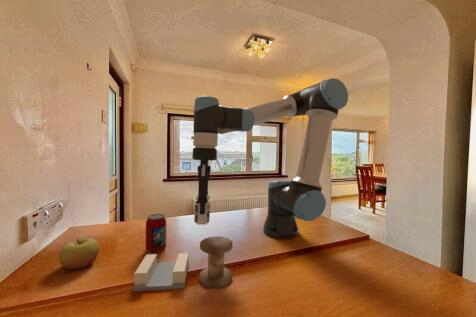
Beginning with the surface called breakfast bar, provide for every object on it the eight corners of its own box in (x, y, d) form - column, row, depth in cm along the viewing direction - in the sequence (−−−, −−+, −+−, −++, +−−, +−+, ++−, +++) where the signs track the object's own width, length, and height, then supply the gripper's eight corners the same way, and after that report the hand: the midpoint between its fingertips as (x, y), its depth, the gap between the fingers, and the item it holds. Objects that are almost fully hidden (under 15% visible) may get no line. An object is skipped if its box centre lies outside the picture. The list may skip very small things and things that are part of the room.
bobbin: (230, 268, 65) (231, 236, 65) (233, 287, 56) (233, 249, 56) (200, 269, 64) (200, 236, 64) (198, 289, 55) (198, 250, 55)
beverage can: (159, 254, 73) (159, 219, 72) (141, 252, 74) (141, 218, 74) (169, 246, 79) (169, 214, 79) (153, 244, 81) (153, 212, 80)
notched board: (188, 264, 67) (189, 251, 67) (183, 288, 55) (183, 273, 55) (147, 265, 66) (147, 252, 66) (132, 291, 54) (133, 275, 54)
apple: (65, 260, 68) (65, 235, 68) (101, 255, 72) (101, 231, 72) (53, 277, 59) (53, 248, 59) (95, 270, 63) (95, 243, 63)
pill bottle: (196, 219, 70) (197, 193, 70) (210, 220, 70) (211, 194, 70) (192, 224, 66) (193, 196, 65) (207, 225, 66) (209, 197, 65)
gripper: (195, 147, 76) (193, 213, 76) (189, 146, 58) (186, 231, 59) (216, 148, 77) (214, 213, 77) (217, 147, 59) (214, 231, 60)
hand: (202, 221), depth 68 cm, fingers closed on pill bottle, 5 cm apart
